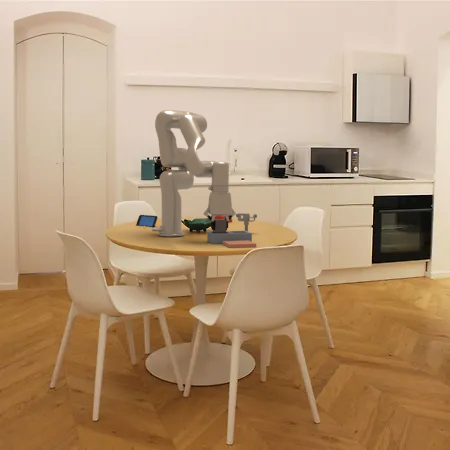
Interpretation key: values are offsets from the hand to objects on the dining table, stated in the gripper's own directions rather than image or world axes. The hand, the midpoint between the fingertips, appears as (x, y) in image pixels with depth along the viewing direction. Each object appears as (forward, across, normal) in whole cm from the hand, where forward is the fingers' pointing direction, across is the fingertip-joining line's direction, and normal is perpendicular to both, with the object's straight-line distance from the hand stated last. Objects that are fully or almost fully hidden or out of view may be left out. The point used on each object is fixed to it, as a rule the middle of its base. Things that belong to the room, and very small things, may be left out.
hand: (219, 229), depth 292 cm
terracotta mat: (+6, +6, -13) cm, 15 cm away
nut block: (+6, 0, 0) cm, 6 cm away
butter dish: (+7, +21, +73) cm, 76 cm away
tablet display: (+7, -26, +60) cm, 66 cm away
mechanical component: (+6, +22, +30) cm, 37 cm away
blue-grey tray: (+6, +5, 0) cm, 7 cm away
